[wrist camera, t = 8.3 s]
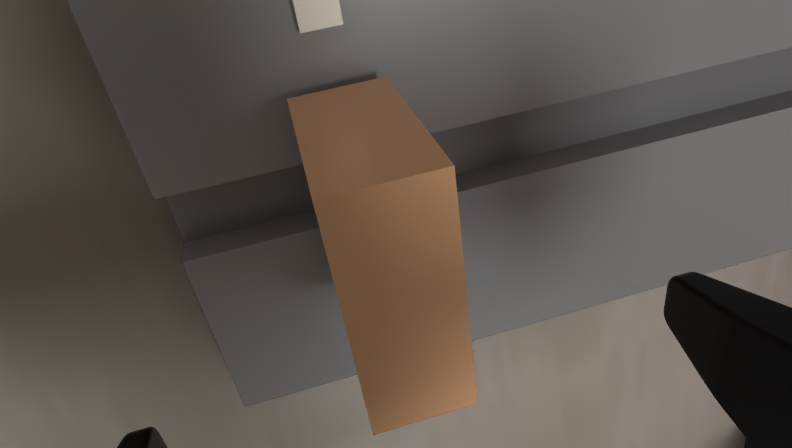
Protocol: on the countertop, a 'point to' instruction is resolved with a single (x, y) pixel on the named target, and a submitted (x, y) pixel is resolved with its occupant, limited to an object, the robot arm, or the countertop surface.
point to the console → (456, 149)
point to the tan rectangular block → (390, 248)
